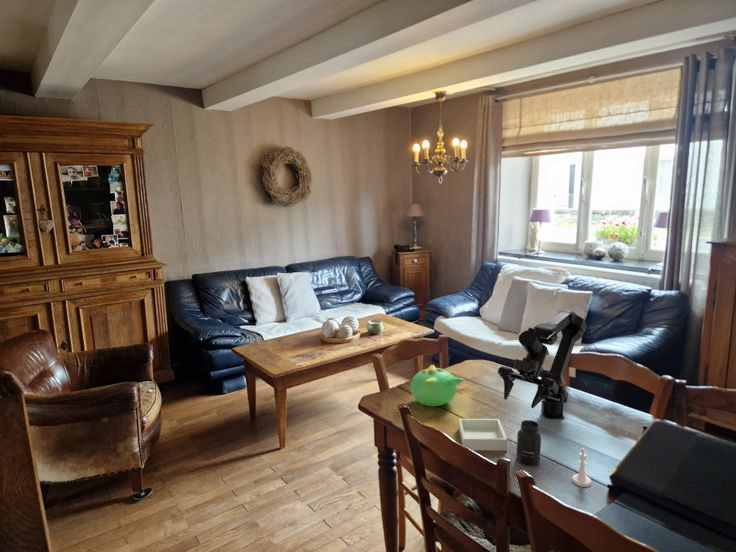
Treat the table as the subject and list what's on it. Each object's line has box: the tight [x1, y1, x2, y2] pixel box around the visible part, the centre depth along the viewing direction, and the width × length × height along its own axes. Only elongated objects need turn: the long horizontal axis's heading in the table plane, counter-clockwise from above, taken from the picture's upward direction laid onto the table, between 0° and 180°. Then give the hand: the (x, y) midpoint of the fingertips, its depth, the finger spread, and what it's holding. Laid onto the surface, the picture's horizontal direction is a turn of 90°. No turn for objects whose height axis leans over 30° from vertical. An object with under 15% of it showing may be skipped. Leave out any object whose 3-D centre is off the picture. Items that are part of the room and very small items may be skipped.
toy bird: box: [410, 364, 465, 407], centre depth 179 cm, size 18×17×15 cm
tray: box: [458, 418, 508, 452], centre depth 153 cm, size 14×14×4 cm
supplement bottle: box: [515, 419, 542, 467], centre depth 139 cm, size 7×7×12 cm
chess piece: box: [571, 447, 592, 488], centre depth 129 cm, size 5×5×10 cm
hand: (518, 403), depth 148 cm, fingers open, 9 cm apart
